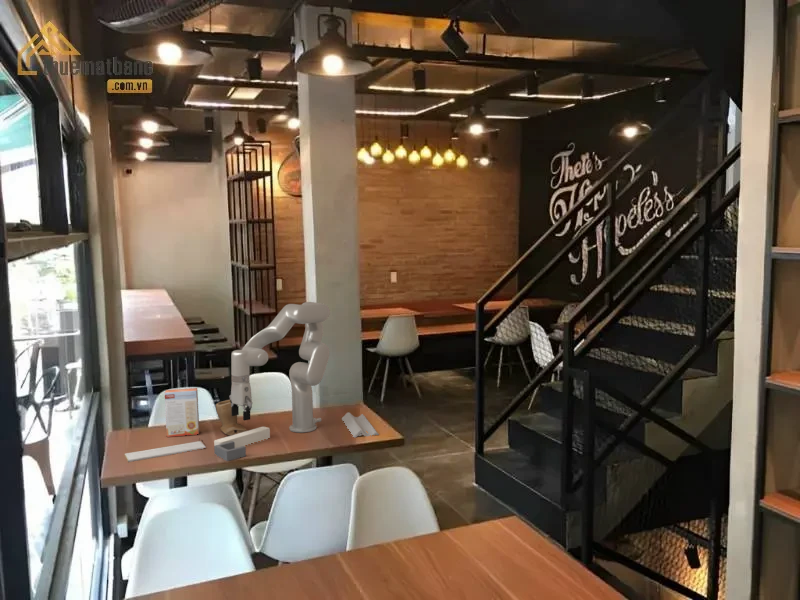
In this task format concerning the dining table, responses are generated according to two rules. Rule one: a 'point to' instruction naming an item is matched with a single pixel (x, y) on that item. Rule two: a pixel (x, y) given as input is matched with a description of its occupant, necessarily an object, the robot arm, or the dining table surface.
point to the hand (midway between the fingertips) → (240, 417)
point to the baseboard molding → (163, 451)
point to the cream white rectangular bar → (246, 437)
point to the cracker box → (181, 412)
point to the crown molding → (358, 425)
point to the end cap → (229, 451)
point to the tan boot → (228, 419)
